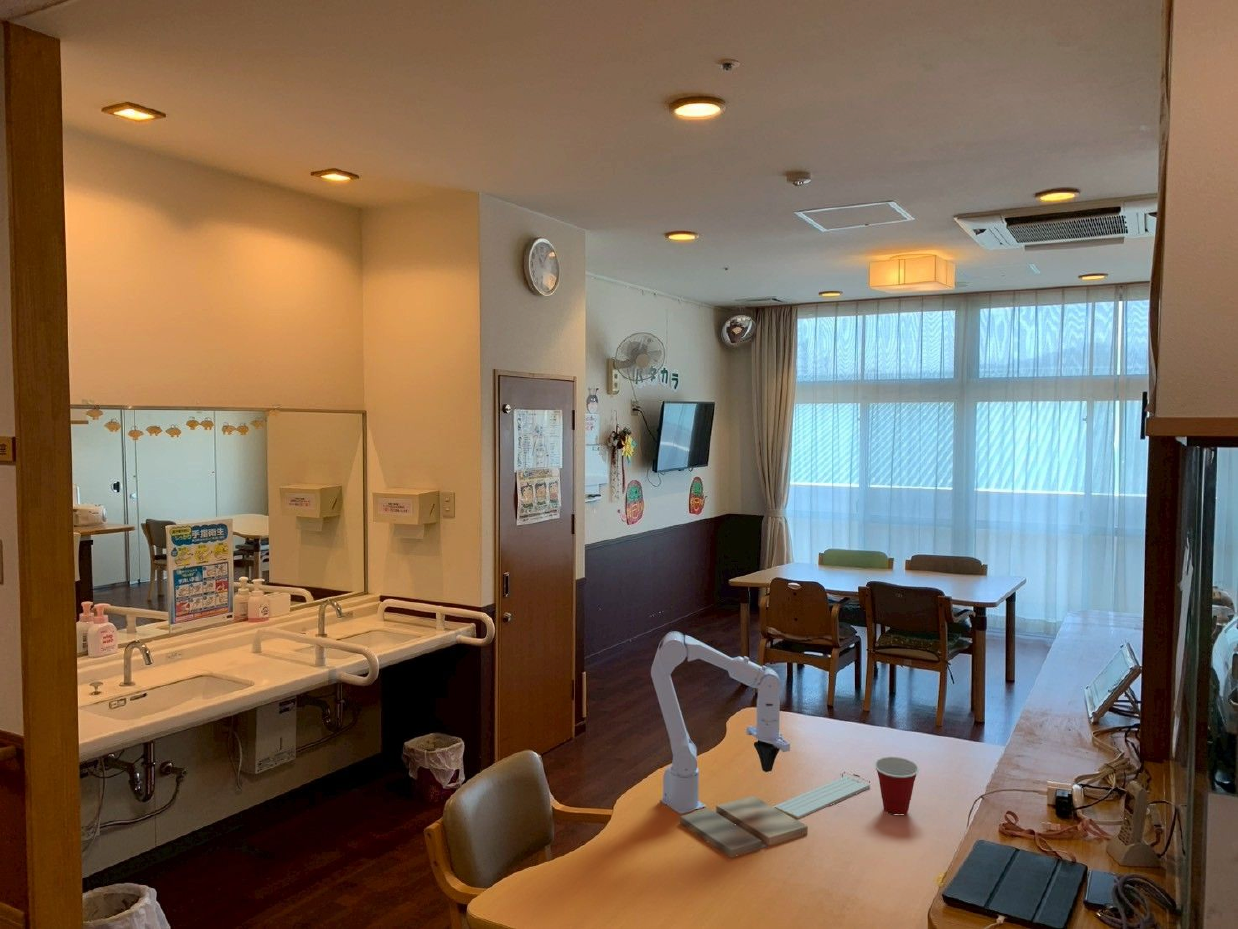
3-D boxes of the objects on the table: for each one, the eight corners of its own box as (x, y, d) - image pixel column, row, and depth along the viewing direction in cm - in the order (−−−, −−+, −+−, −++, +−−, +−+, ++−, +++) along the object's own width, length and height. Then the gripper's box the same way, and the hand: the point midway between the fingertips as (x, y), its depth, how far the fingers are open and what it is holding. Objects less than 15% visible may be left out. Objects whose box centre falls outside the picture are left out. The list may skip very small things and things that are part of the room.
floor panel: (680, 824, 220) (680, 816, 220) (714, 814, 226) (714, 806, 226) (731, 858, 203) (731, 850, 203) (766, 847, 209) (766, 839, 209)
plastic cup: (870, 816, 225) (871, 769, 224) (875, 799, 235) (876, 754, 234) (916, 824, 221) (917, 776, 220) (919, 806, 231) (920, 760, 230)
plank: (716, 813, 226) (716, 805, 226) (753, 803, 232) (753, 795, 232) (768, 846, 209) (769, 837, 209) (807, 834, 215) (807, 826, 215)
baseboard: (766, 808, 231) (797, 822, 223) (767, 798, 230) (798, 811, 223) (839, 778, 250) (870, 790, 242) (839, 768, 250) (870, 779, 242)
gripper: (799, 723, 224) (798, 777, 224) (761, 707, 236) (760, 758, 237) (777, 728, 220) (776, 783, 221) (740, 711, 232) (739, 763, 233)
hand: (767, 770), depth 229 cm, fingers closed
